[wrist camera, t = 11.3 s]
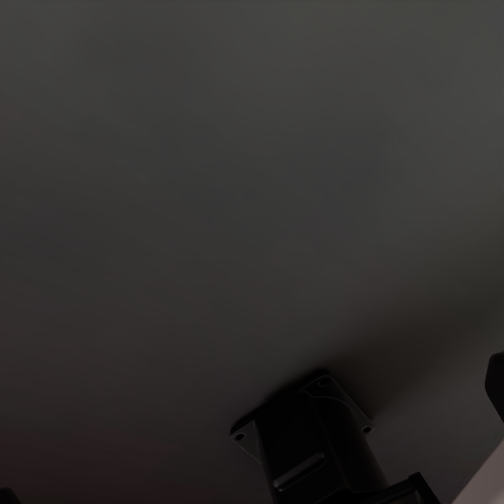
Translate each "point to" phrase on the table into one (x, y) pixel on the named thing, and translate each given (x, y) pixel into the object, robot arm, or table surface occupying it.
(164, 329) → the table surface
